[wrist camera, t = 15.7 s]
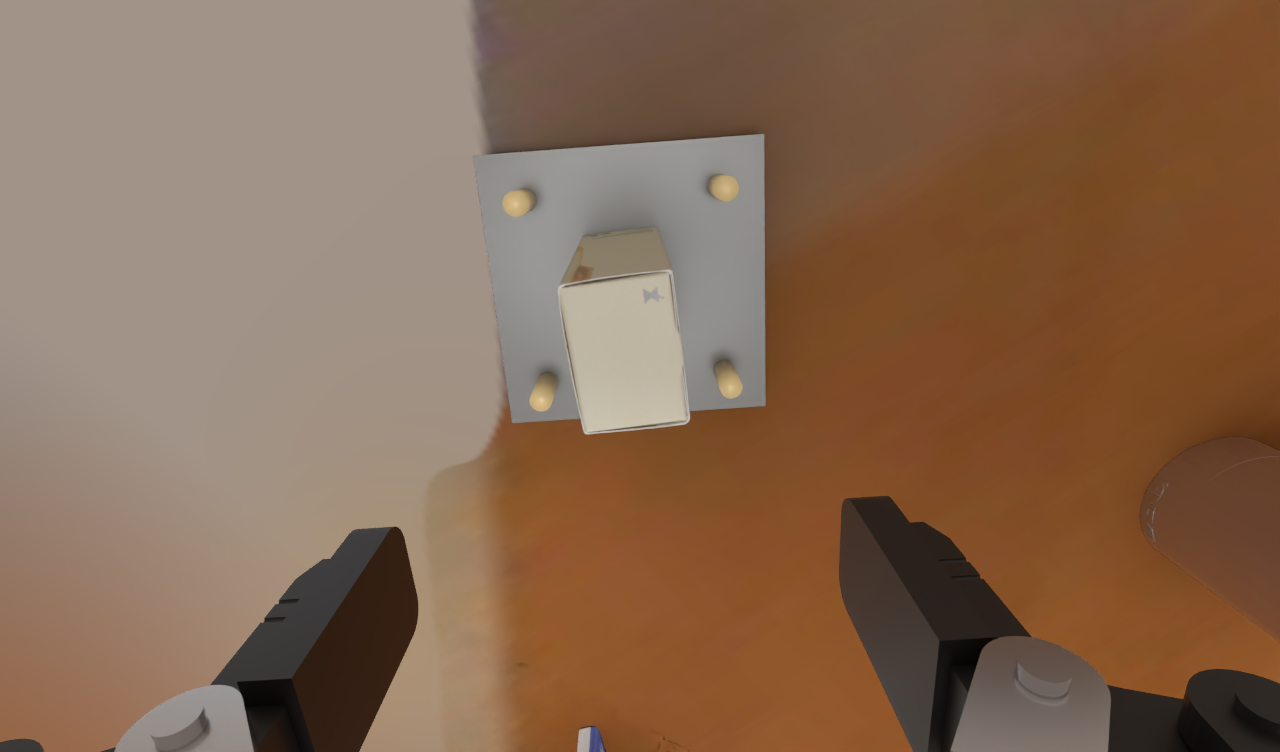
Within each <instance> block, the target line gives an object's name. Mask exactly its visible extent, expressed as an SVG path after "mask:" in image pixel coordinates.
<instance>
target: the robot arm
mask: <svg viewBox="0 0 1280 752" xmlns="http://www.w3.org/2000/svg"><path fill="white" fill-rule="evenodd" d="M1140 523H1141V528H1142V531H1143V533H1144V536H1145V538H1146V540H1147V541H1148V542H1149V543H1150V544H1151V545H1152V547H1153V548H1154V549H1156V550H1157V551H1158V552H1160V553H1161V554H1162V555H1164V556H1165V557H1166V558H1168V559H1169V560H1170V561H1172V562H1173V563H1174V564H1176V565H1177V566H1178V567H1180V568H1181V569H1182V570H1184V571H1185V572H1187V573H1188V574H1189V575H1190V576H1191V577H1193V578H1194V579H1195V580H1197V581H1198V582H1199V583H1201V584H1202V585H1204V586H1205V587H1206V588H1208V589H1209V590H1210V591H1212V592H1213V593H1214V594H1216V595H1217V596H1218V597H1220V598H1221V599H1222V600H1224V601H1225V602H1226V603H1228V604H1229V605H1230V606H1232V607H1233V608H1234V609H1236V610H1237V611H1238V612H1240V613H1241V614H1242V615H1244V616H1245V617H1246V618H1248V619H1249V620H1250V621H1252V622H1253V623H1254V624H1256V625H1257V626H1258V627H1260V628H1261V629H1262V630H1264V631H1265V632H1266V633H1268V634H1269V635H1270V636H1272V637H1273V638H1274V639H1276V640H1277V641H1278V642H1280V451H1279V450H1277V449H1275V448H1272V447H1270V446H1268V445H1266V444H1263V443H1261V442H1259V441H1256V440H1253V439H1250V438H1243V437H1223V438H1217V439H1213V440H1209V441H1205V442H1203V443H1200V444H1198V445H1195V446H1193V447H1191V448H1189V449H1187V450H1186V451H1184V452H1183V453H1181V454H1179V455H1178V456H1176V457H1175V458H1173V459H1172V460H1171V461H1170V462H1169V463H1168V464H1167V465H1165V466H1164V467H1163V468H1162V469H1161V470H1160V472H1159V473H1158V474H1157V475H1156V476H1155V477H1154V479H1153V480H1152V482H1151V483H1150V485H1149V487H1148V489H1147V490H1146V492H1145V495H1144V497H1143V501H1142V504H1141V509H1140ZM839 579H840V587H841V593H842V597H843V601H844V604H845V607H846V609H847V612H848V614H849V616H850V618H851V620H852V622H853V624H854V626H855V629H856V631H857V633H858V635H859V637H860V639H861V641H862V643H863V646H864V648H865V650H866V652H867V654H868V656H869V658H870V660H871V663H872V665H873V667H874V669H875V671H876V673H877V675H878V677H879V680H880V682H881V684H882V686H883V688H884V690H885V692H886V694H887V696H888V699H889V701H890V703H891V705H892V707H893V709H894V711H895V713H896V716H897V718H898V720H899V722H900V724H901V726H902V728H903V730H904V733H905V735H906V737H907V739H908V741H909V743H910V745H911V747H912V750H913V752H1280V684H1279V683H1277V682H1274V681H1272V680H1269V679H1266V678H1263V677H1260V676H1257V675H1253V674H1249V673H1245V672H1241V671H1234V670H1226V669H1212V670H1205V671H1201V672H1199V673H1197V674H1195V675H1193V676H1192V677H1191V678H1190V680H1189V682H1188V685H1187V688H1186V692H1185V695H1184V699H1178V698H1173V697H1167V696H1162V695H1156V694H1151V693H1145V692H1139V691H1134V690H1128V689H1123V688H1118V687H1114V686H1110V685H1107V684H1106V682H1105V681H1104V679H1103V678H1102V676H1101V675H1100V674H1099V673H1098V672H1097V670H1095V669H1094V668H1093V667H1092V666H1091V665H1090V664H1089V663H1088V662H1086V661H1085V660H1084V659H1082V658H1081V657H1079V656H1078V655H1076V654H1074V653H1073V652H1071V651H1069V650H1067V649H1065V648H1063V647H1061V646H1059V645H1056V644H1054V643H1051V642H1048V641H1045V640H1041V639H1038V638H1032V637H1031V636H1030V634H1029V633H1028V632H1027V631H1026V630H1025V628H1024V627H1023V626H1022V625H1021V624H1020V622H1019V621H1018V620H1017V619H1016V618H1015V616H1014V615H1013V614H1012V613H1011V612H1010V610H1009V609H1008V608H1007V607H1006V606H1005V604H1004V603H1003V602H1002V601H1001V600H1000V598H999V597H998V596H997V595H996V594H995V592H994V591H993V590H992V589H991V588H990V586H989V585H988V584H987V583H986V582H985V580H984V579H980V574H979V573H978V572H977V571H976V570H975V568H974V567H973V566H972V565H971V564H970V562H966V558H965V556H964V555H963V554H962V553H961V552H960V550H959V549H958V548H957V547H956V546H955V544H954V543H953V542H952V541H951V540H950V538H948V537H947V536H945V535H943V534H942V533H940V532H939V531H937V530H935V529H934V528H932V527H931V526H929V525H927V524H926V523H924V522H914V523H910V522H909V521H908V520H907V518H906V517H905V516H904V514H903V513H902V512H901V510H900V509H899V508H898V506H897V505H896V504H895V503H894V501H893V500H892V499H891V498H890V497H889V496H877V497H862V498H847V499H845V500H844V502H843V505H842V513H841V538H840V563H839ZM417 599H418V598H417V593H416V589H415V585H414V580H413V575H412V571H411V567H410V562H409V557H408V553H407V548H406V544H405V539H404V536H403V534H402V532H401V530H400V529H399V528H398V527H384V528H369V529H356V530H353V531H352V532H351V533H350V534H349V535H348V536H347V538H346V539H345V540H344V542H343V543H342V544H341V546H340V547H339V548H338V549H337V551H336V552H335V553H334V555H333V556H332V557H331V559H323V560H321V561H320V562H319V563H317V564H316V565H315V566H313V567H312V568H310V569H309V570H308V571H306V572H305V573H303V574H302V575H301V576H299V577H298V578H297V579H296V580H295V581H294V582H293V583H292V585H291V586H290V587H289V588H288V590H287V591H286V592H285V593H284V595H283V596H282V597H281V598H280V600H279V604H276V605H275V606H274V607H273V608H272V609H271V611H270V612H269V613H268V614H267V616H266V617H265V621H264V623H260V624H259V626H258V627H257V628H256V629H255V630H254V632H253V633H252V634H251V636H250V637H249V638H248V639H247V640H246V642H245V643H244V644H243V645H242V647H241V648H240V649H239V650H238V651H237V653H236V654H235V655H234V656H233V658H232V659H231V660H230V661H229V663H228V664H227V665H226V666H225V668H224V669H223V670H222V671H221V673H220V674H219V675H218V676H217V677H216V679H215V680H214V681H213V682H212V684H211V685H210V686H204V687H199V688H196V689H193V690H189V691H187V692H184V693H182V694H179V695H177V696H175V697H173V698H171V699H169V700H167V701H165V702H164V703H162V704H160V705H159V706H157V707H155V708H154V709H152V710H151V711H149V712H148V713H147V714H145V715H144V716H143V717H142V718H140V719H139V720H138V721H137V722H136V723H135V724H134V725H133V726H132V727H131V728H130V729H129V730H128V731H127V732H126V733H125V735H124V736H123V737H122V738H121V740H120V741H119V743H118V745H117V747H115V748H112V749H108V750H105V751H102V752H359V751H360V749H361V746H362V744H363V742H364V740H365V738H366V736H367V733H368V731H369V729H370V727H371V725H372V723H373V721H374V718H375V716H376V714H377V712H378V710H379V708H380V706H381V704H382V701H383V699H384V697H385V695H386V693H387V690H388V688H389V686H390V684H391V682H392V680H393V678H394V676H395V674H396V671H397V669H398V667H399V665H400V663H401V660H402V658H403V656H404V654H405V652H406V650H407V648H408V646H409V643H410V641H411V639H412V637H413V635H414V632H415V629H416V625H417V619H418V600H417ZM0 752H45V751H44V749H43V748H42V746H41V745H40V743H38V742H36V741H34V740H30V739H15V740H9V741H4V742H0Z"/></svg>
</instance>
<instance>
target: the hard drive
mask: <svg viewBox="0 0 1280 752" xmlns="http://www.w3.org/2000/svg"><path fill="white" fill-rule="evenodd" d="M577 752H606V750H605V748H604V745H603V741H602V738H601V736H600V733H599V731H598V729H597V728H596V727H595V726H587V727H583V728H580V729H579V737H578V748H577Z"/></svg>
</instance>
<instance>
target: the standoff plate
mask: <svg viewBox="0 0 1280 752" xmlns="http://www.w3.org/2000/svg"><path fill="white" fill-rule="evenodd" d="M473 161H474V167H475V174H476V181H477V187H478V194H479V201H480V207H481V215H482V221H483V228H484V235H485V242H486V248H487V255H488V262H489V269H490V275H491V282H492V289H493V296H494V302H495V309H496V316H497V323H498V329H499V336H500V343H501V350H502V356H503V363H504V370H505V377H506V383H507V390H508V397H509V404H510V410H511V417H512V423H522V422H537V421H551V420H566V419H581V418H580V414H579V410H578V405H577V401H576V397H575V392H574V387H573V383H572V378H571V373H570V368H569V362H568V358H567V352H566V347H565V341H564V336H563V330H562V323H561V316H560V308H559V300H558V292H557V290H558V286H559V284H560V282H561V280H562V278H563V276H564V274H565V272H566V270H567V268H568V265H569V263H570V261H571V259H572V257H573V255H574V253H575V251H576V249H577V247H578V245H579V242H580V240H581V238H582V237H584V236H589V235H595V234H600V233H606V232H613V231H621V230H630V229H639V228H649V227H657V228H658V230H659V233H660V236H661V239H662V242H663V245H664V248H665V250H666V253H667V256H668V259H669V262H670V265H671V268H672V271H673V277H674V285H675V293H676V300H677V308H678V316H679V324H680V333H681V341H682V348H683V357H684V365H685V373H686V383H687V392H688V401H689V411H698V410H712V409H727V408H742V407H756V406H766V394H765V199H764V134H756V135H743V136H729V137H716V138H702V139H689V140H675V141H662V142H649V143H635V144H622V145H608V146H595V147H582V148H568V149H555V150H541V151H528V152H514V153H501V154H488V155H475V156H473Z"/></svg>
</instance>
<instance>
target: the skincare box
mask: <svg viewBox="0 0 1280 752" xmlns="http://www.w3.org/2000/svg"><path fill="white" fill-rule="evenodd" d="M557 292H558V300H559V308H560V316H561V323H562V330H563V336H564V341H565V347H566V352H567V358H568V362H569V368H570V373H571V378H572V383H573V387H574V392H575V397H576V401H577V405H578V410H579V414H580V418H581V423H582V427H583V432H584V433H585V434H596V433H609V432H619V431H632V430H640V429H651V428H660V427H668V426H677V425H685V424H687V423H688V422H689V420H690V411H689V401H688V392H687V383H686V373H685V365H684V357H683V348H682V341H681V333H680V324H679V316H678V308H677V300H676V293H675V285H674V277H673V271H672V268H671V265H670V262H669V259H668V256H667V253H666V250H665V248H664V245H663V242H662V239H661V236H660V233H659V230H658V228H657V227H649V228H639V229H630V230H621V231H613V232H606V233H600V234H595V235H589V236H584V237H582V238H581V240H580V242H579V245H578V247H577V249H576V251H575V253H574V255H573V257H572V259H571V261H570V263H569V265H568V268H567V270H566V272H565V274H564V276H563V278H562V280H561V282H560V284H559V286H558V290H557Z"/></svg>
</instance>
